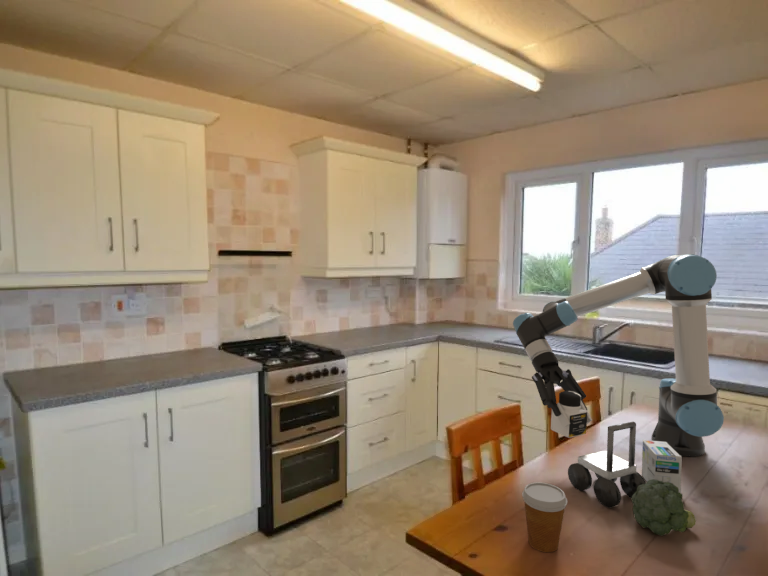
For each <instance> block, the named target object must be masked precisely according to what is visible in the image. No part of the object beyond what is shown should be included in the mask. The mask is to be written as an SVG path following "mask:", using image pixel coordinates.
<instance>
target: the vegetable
mask: <svg viewBox="0 0 768 576" xmlns="http://www.w3.org/2000/svg"><path fill="white" fill-rule="evenodd" d="M630 499H631V503H632V504H633V505H632V512H633V517H634V519H635V521H636V522H637V523H638V524H639V525H640V526H641V527H642V528H644V529H647V528H648V529H650V531H651V532H652V533H653V534H654V535H658V536H661V537H662V536H665V535H669V534H670V533H672V531H675V532H677V531H678V532H679V533H683V532H685V531H686V530H687V529H692V528H693V527H694V526H695V525H696V522H697V520H696V517H695V514H694V513H693V512H692V511H690V510H687V509H685V505H684V501H683V493H679V489H678V487H676V486H675V485H674V484H673V483H669V482H662V481H659V480H656V479H652V480H649V481H646V483H645V484H642V485H639V486H638V487H637V491H636V492H635V493H634V494H633V495H632V497H631V498H630Z"/></svg>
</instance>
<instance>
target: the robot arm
mask: <svg viewBox="0 0 768 576" xmlns="http://www.w3.org/2000/svg"><path fill="white" fill-rule="evenodd" d="M716 281H717V270H716V268H715V266H714V264H713V263H712V262H711V261H710V260H709V259H707V258H705V257H703V256H701V255H698V254H687V253H686V254H674V255H673V254H672V255H669V256H667V257H664V258H663V259H660V260H658V261H656V262H653V263H651V264H648V265H646V266H644V267H641V268H640V270H639V271H638V272H635V273H633V274H630V275H626V276H625V277H621V278H619V279H615V280H613V281H610V282H607V283H604V284H601V285H598V286H596V287H593V288H590V289H587V290H585V291H582V292H579V293H575V294H573V295H570V296H567V297H564V298H561V299H559V300H555V301H549V302H547V303H546V304H545V305H544V307H543V309H542V312H541V313H539V314H536V315H533V314H532V313H531V312H524V313H521V314H519V315H518V316H516V317H515V318H514V319H513V322H512V326H513V328H514V330H515V333H516V335H517V338H518V339H519V341H520V343H521V345H522V347H523V348H524V351H525V352H526V355H527V356H528V358H529V361H531V364H532V367H533V369H534V370H535V373H534V374H533V375H531V379H532V381H533V382H534V383H535V387H536V389H537V392H538V394H539V397H540V400H541V403H542V405H543V406H547V408H548V409H551V411H552V410H553V412H554V414H555V416H557V417H558V419H559V421H560V423H561V425H562V427H563V428H565V427H567V426H568V425H569V424H570V422H569V420H568V418H567V416H566V414H565V412H564V410H563V409H562V407H561V405H560V403H559V402H557V397H556V391H555V385H557V386H558V387H559V388H561V389H562V390H563V391H572V392H576V393H578V394H580V396H581V408H580V409H583V410H585V411H587V425H588V424H589V423H591V422H592V421H593V419H592V417H591V415H590V413H589V411H588V408H587V405H586V404H585V402H584V399H586V397H587V395H586V393H585V392H584V390H583V388H582V387H581V386H580V384H579V382H577V380H576V379H575V377H574V376H573V374H572V371H571V370H570V369H569V368H567V369H566V370H563V369H562V368H561V367H560V366H559V360H558V358H557V356H556V354H555V353H554V352H553V349H552V347H551V345H550V344H549V342H548V340H547V339H546V337H547V336H550V335H551V334H554V333H556V332H559V331H560V330H562V329H564V328H566V327H569V326H571V325H572V324H575V322H577V321H578V317H580V316H584V315H586V314H590V313H593V312H595V311H598V310H602V309H605V308H607V307H610V306H614V305H616V304H620V303H623V302H625V301H628V300H631V299H634V298H638V297H641V296H644V295H646V294H650V295H657V294H659V293H663V292H664V293H665V295H664V296H665V301H666V302H667V303H669V304H670V305H671V313H672V315H671V316H672V332H673V333H672V334H673V352H674V353H673V355H674V371H675V378H662V379H661V380H660V381H659V386H658V389H659V390H658V391H659V392H658V394H659V395H658V415H657V416H658V418H657V419H658V420H657V423H656V426H655V428H654V429H653V432H652V434H651V439H650V441H662V442H667V443H668V444H669V445H670V446H671V447H672V448H673V449H674V450H675V451H676V452H677V453H678V454H679V455H680V456H682V457H683V456H684V457H700V456H703V455H704V454H705V451H706V445H705V443H704V439H703V438H705V437H709V436H713V435H714V434H716V433H717V432H718V431H720V429H721V428H722V427H723V425H724V414H723V411H722V408H721V407H720V406H719V405H718V395H717V394H718V393H717V389H716V387H715V386H713V385H712V384H711V379H710V362H709V361H710V360H709V359H710V358H709V344H708V343H709V341H708V322H707V321H708V320H707V318H708V317H707V304H708V303H710V301H711V300H712V289H713V287H714V286H715V284H716Z"/></svg>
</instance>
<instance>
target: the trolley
mask: <svg viewBox="0 0 768 576" xmlns="http://www.w3.org/2000/svg"><path fill="white" fill-rule="evenodd" d="M627 429H629V441H628V442H629V444H628V460H625V459H624V458H621V457H619V456H618V455H615V454H614V437H615V436H614V435H615V432H617V431H622V430H623V431H624V430H627ZM636 435H637V423H636V421H630V422H629V421H628V422H624V423H623V422H622V423H618V424H614V425H610V426H608V427H607V440H606V441H607V443H606V446H607V447H606V450H601V451H597V452H593V453H588V454H585V455H579V456H578V457H577V458H578V460H577V462H575V463H572V464H570V465H569V466H568V468H567V476H568V480H569V482H570V484H571V485H572V486H573V488H575V490H577V491H580V492H583V491H586V490H587V491H588V490H589V489H591V487H592V485H593V492H594V495H595V497H596V499H597V500H598V501H599V503H600V504H601V505H602V506H603V507H606V508H609V509H610V508H613V507H617V506H618V505H620V503H621V500H622V494H621V490H620V488H619V486H618V485H617V483H616V482H617V480H618V478H619V484H620V487H621V489H622V491H623V492H624V494H625V496H627V497H628V498H630V499H631V497H632V495H633V494H634V493H635V492H636V491H637V487H638V486H639V485H642V484H645V483H646V482H647V481H646V480H645V479H644V477H643V476H642V474H640V473H639V472H638V471H637V465H636V464H635V463H636V462H635V459H636V458H635V457H636V440H637V439H636ZM590 471H591V472H593V473H594V475H595V477H596V478H597V479H595V481H594V483H593V478H592V474H591V472H590Z"/></svg>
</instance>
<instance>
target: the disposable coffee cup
mask: <svg viewBox="0 0 768 576" xmlns="http://www.w3.org/2000/svg"><path fill="white" fill-rule="evenodd" d="M521 495H522V499H523V501H524V511H525V519H526V530H527V538H528V539H527V540H528V544H529V545H530V546H531V547H532V548H533V549H534V550H538V551H539V552H543V553H553V552H555V551H557V550H558V549H559V542H560V539H561V531H562V525H563V520H564V513H565V509H566V506H567V504H568V498H567V497H566V493H565V492H564V490H562V489H561V488H560V487H559V486H557V485H554V484H551V483H547V482H539V481H538V482H530V483H528V484H526V485H525V486H524V488H523V491H522V492H521Z"/></svg>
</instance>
